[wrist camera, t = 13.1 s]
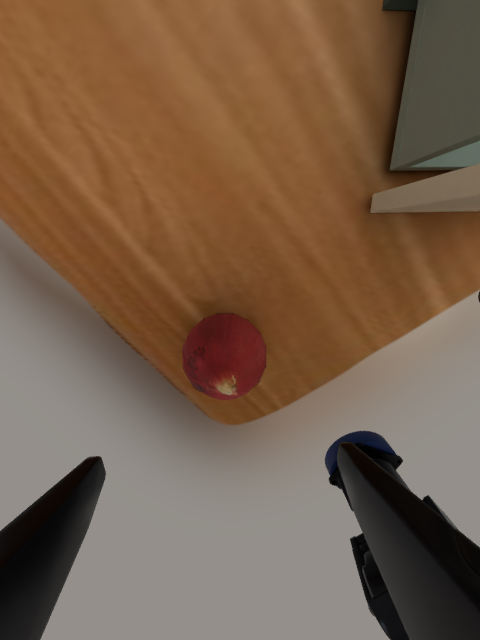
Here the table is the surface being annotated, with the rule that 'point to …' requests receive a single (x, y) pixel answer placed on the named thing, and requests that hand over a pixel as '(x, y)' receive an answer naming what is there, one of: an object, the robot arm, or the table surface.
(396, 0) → the cabinet
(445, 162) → the drawer
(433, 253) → the table surface
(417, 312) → the table surface
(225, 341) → the onion
